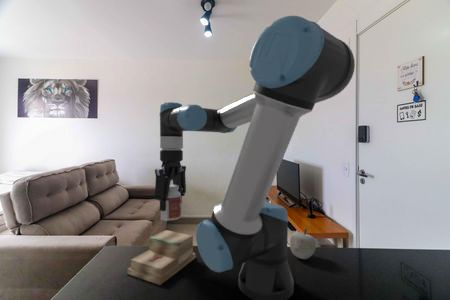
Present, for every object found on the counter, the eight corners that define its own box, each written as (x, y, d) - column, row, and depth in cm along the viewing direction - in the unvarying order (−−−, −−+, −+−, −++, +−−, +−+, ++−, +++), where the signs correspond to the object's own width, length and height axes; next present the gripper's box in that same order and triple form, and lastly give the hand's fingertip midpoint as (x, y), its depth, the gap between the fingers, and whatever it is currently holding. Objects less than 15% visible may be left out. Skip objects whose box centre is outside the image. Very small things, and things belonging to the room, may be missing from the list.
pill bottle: (183, 218, 79) (183, 186, 79) (166, 222, 76) (165, 187, 76) (176, 214, 84) (176, 183, 84) (159, 217, 81) (159, 185, 81)
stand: (195, 257, 82) (195, 234, 82) (160, 285, 66) (160, 256, 66) (166, 250, 88) (166, 228, 88) (127, 273, 72) (126, 247, 71)
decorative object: (287, 260, 81) (287, 231, 80) (292, 249, 89) (292, 223, 88) (314, 266, 77) (315, 235, 77) (317, 254, 85) (317, 227, 84)
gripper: (179, 148, 90) (179, 208, 90) (141, 149, 73) (141, 223, 73) (196, 149, 87) (196, 211, 87) (160, 150, 69) (160, 227, 70)
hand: (171, 217), depth 80 cm, fingers closed on pill bottle, 6 cm apart
